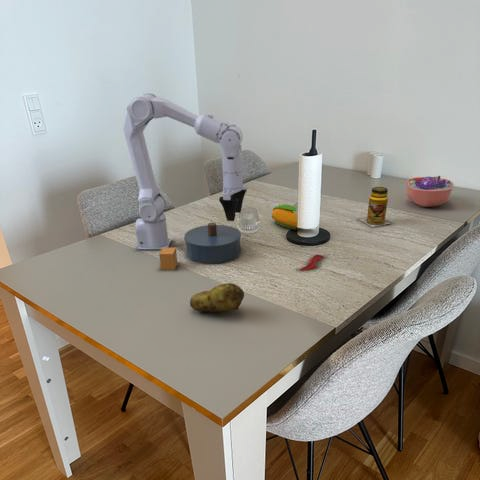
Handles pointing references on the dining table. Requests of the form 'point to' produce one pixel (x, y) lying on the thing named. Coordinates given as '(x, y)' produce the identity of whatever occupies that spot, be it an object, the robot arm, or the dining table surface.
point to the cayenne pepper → (312, 263)
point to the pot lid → (212, 235)
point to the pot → (213, 253)
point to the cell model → (429, 190)
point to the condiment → (377, 207)
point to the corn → (285, 216)
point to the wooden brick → (168, 258)
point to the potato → (218, 298)
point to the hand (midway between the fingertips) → (234, 216)
